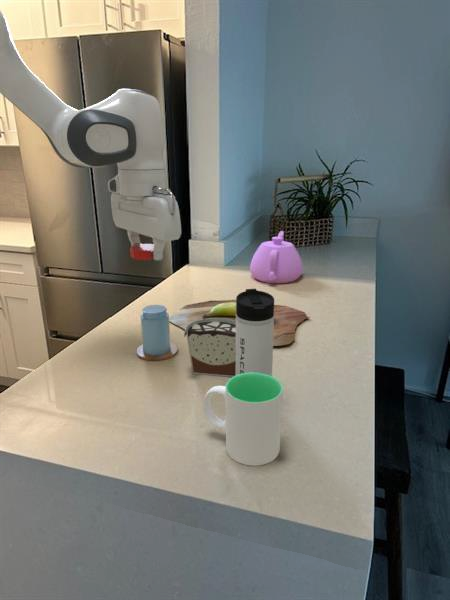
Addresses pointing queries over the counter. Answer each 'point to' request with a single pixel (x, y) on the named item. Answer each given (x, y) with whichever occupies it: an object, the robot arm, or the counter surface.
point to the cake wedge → (212, 346)
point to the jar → (155, 330)
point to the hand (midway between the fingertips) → (146, 255)
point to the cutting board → (226, 309)
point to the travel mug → (254, 332)
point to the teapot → (276, 261)
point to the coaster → (167, 355)
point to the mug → (250, 417)
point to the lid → (141, 251)
